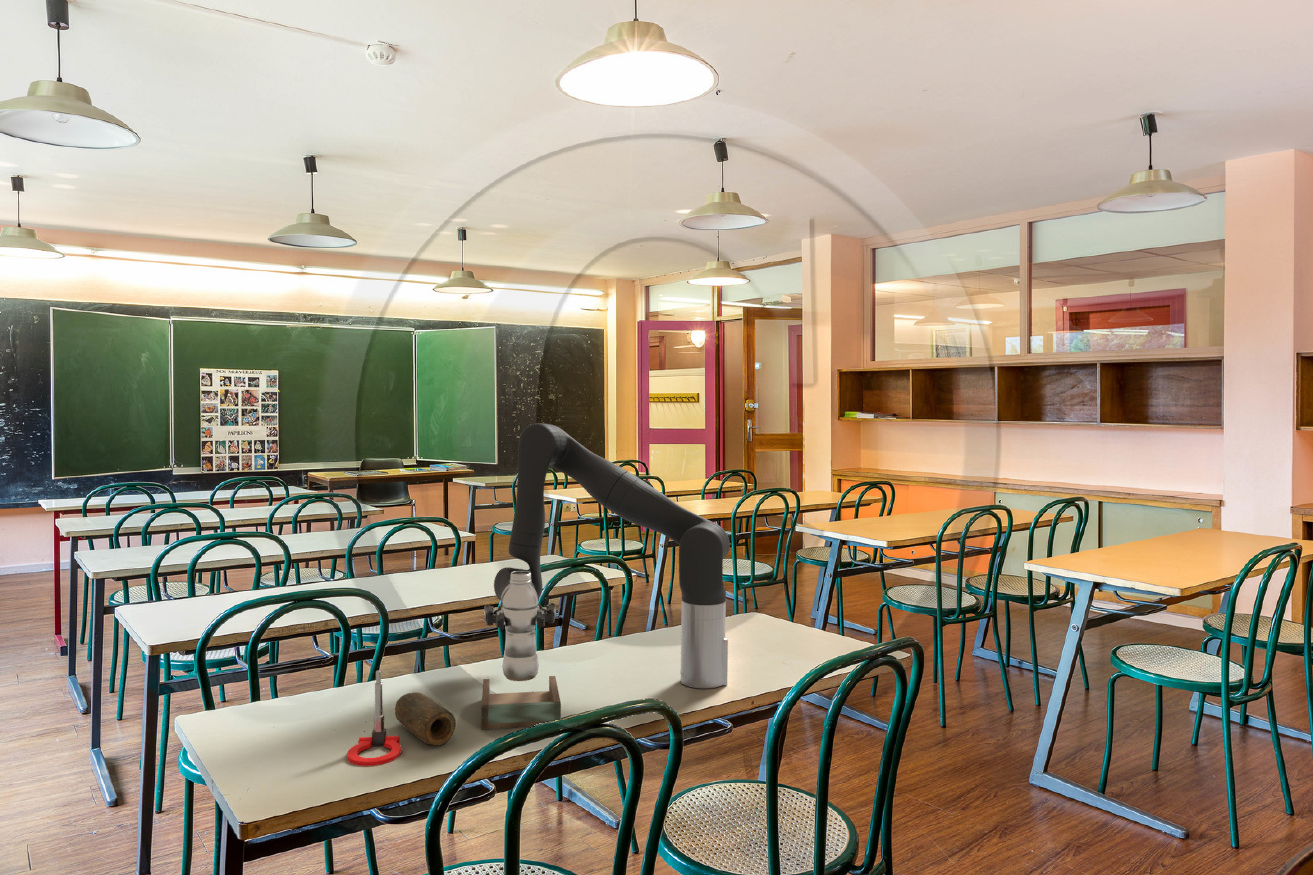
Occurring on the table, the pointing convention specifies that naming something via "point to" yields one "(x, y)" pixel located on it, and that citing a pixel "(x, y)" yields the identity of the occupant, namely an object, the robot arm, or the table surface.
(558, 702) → the bay
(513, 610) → the plastic bottle
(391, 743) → the tow hook
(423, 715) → the brown wooden tube
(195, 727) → the table surface
